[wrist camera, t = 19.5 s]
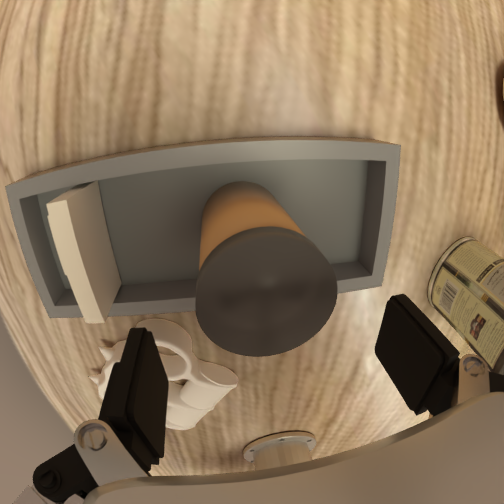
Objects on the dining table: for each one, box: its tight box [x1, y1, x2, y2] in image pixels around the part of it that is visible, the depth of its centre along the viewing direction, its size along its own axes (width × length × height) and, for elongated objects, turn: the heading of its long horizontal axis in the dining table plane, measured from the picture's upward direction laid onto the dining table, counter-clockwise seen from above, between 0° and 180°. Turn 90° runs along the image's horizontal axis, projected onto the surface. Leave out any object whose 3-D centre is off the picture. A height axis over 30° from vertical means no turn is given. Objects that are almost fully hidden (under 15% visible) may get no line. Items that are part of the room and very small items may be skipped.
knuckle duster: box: [88, 318, 238, 430], centre depth 27 cm, size 3×18×15 cm
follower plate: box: [46, 180, 122, 323], centre depth 17 cm, size 8×4×5 cm, turn 2°
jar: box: [195, 181, 338, 357], centre depth 16 cm, size 6×6×10 cm
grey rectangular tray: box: [5, 136, 401, 318], centre depth 19 cm, size 11×28×4 cm, turn 92°
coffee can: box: [428, 237, 504, 375], centre depth 22 cm, size 10×10×14 cm
